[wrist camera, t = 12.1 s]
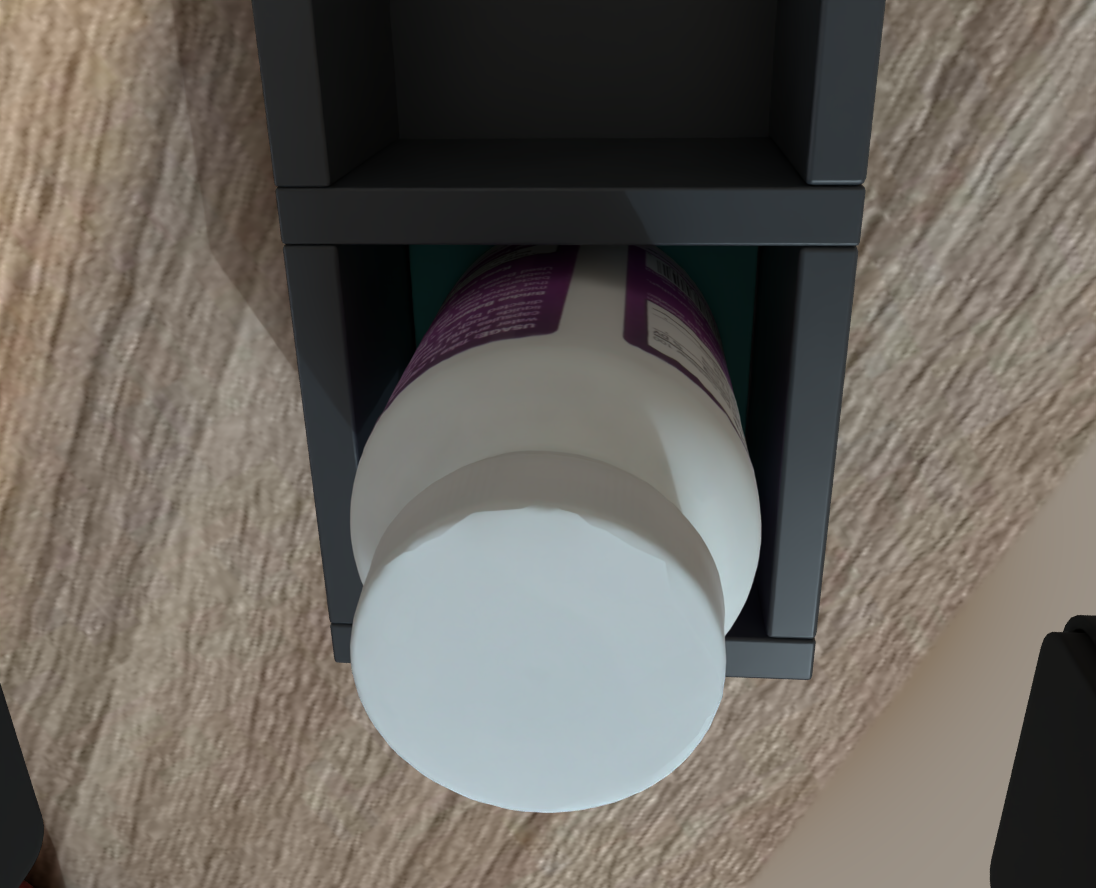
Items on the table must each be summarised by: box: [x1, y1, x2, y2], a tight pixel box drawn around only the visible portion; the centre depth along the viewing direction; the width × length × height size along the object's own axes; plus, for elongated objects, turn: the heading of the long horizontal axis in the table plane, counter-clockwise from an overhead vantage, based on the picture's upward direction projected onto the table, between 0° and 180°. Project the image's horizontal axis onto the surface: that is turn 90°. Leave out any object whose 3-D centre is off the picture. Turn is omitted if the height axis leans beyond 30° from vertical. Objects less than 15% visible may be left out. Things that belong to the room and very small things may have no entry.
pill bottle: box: [350, 245, 761, 813], centre depth 15 cm, size 5×5×10 cm
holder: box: [252, 0, 886, 680], centre depth 16 cm, size 15×8×5 cm, turn 1°
